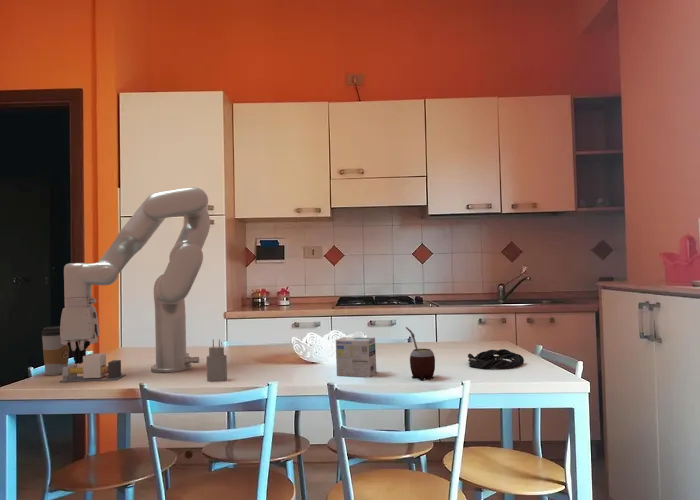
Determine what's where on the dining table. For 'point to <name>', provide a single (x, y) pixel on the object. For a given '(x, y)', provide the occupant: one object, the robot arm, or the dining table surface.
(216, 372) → the power adapter
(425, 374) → the mate gourd
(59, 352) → the coffee cup
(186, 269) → the robot arm
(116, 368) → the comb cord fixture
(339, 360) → the light bulb box
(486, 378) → the dining table surface
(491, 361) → the cable
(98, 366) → the marker sleeve
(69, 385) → the dining table surface
